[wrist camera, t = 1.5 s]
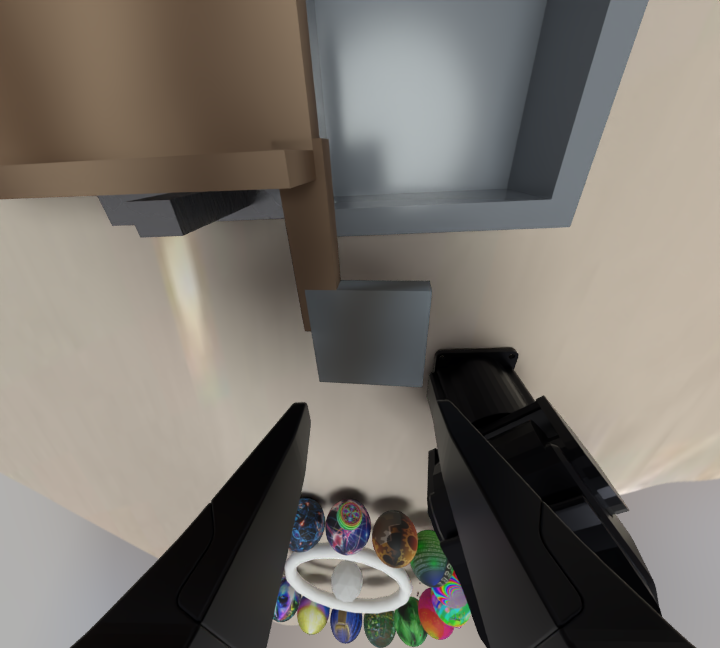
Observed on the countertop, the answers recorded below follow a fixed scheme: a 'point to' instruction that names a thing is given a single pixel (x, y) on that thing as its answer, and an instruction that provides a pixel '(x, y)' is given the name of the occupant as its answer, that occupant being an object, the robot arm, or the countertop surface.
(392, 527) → the decorated egg ring holder
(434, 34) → the grey open tray
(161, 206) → the lever stand
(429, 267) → the countertop surface
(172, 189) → the tipping lever
